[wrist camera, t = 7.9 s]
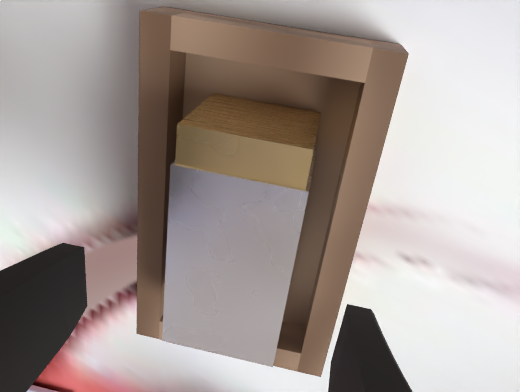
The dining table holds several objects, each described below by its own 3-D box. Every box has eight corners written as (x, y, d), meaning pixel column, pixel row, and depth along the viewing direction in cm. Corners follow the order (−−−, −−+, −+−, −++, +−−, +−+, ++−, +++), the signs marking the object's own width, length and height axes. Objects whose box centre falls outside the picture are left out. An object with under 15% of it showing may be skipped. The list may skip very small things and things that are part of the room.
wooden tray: (154, 304, 21) (136, 333, 19) (163, 6, 15) (139, 10, 14) (323, 342, 20) (320, 376, 19) (401, 44, 14) (408, 53, 13)
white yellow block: (195, 274, 19) (162, 340, 16) (211, 92, 16) (172, 124, 12) (286, 294, 19) (273, 367, 16) (324, 112, 15) (317, 151, 12)
